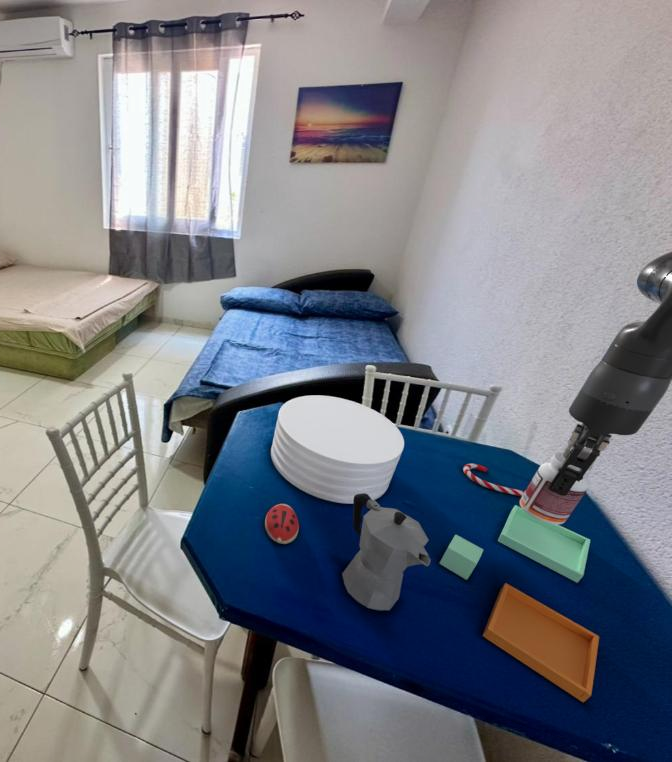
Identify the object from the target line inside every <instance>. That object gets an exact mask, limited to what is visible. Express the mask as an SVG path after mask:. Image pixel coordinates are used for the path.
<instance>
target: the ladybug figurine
mask: <svg viewBox="0 0 672 762" xmlns="http://www.w3.org/2000/svg"><path fill="white" fill-rule="evenodd" d="M264 528H265V531H266V533H267V535H268V536H269V538H270V539H271V540H273V541H274V542H276V543H277V544H283V545H287V544H290V543H292V542H293V541H294V540H295V539H296V538H297V536H298V534H299V529H300V524H299V519H298V516H297V514H296V512H295V511H294V509H293V508H292V507H291V506H290V505H288V504H286V503H279V504H276V505H274V506H273V507H271V509H269V510H268V512H267V514H266V516H265V519H264Z"/></svg>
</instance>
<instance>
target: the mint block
mask: <svg viewBox="0 0 672 762" xmlns="http://www.w3.org/2000/svg"><path fill="white" fill-rule="evenodd" d="M483 552H484V549H483V548H482V547H479V546H478V545H476V544H474V543H473V542H471V541H469V540H467V539H465V538H464V537H462V536H459V535H458V534H456V533H455V535H454V536H453V537H452V540H451V541H450V542H449V544H448V546H447V548H446V550H445V552H444V554H443V555H442V557H441V559H440V561H439V563H438V564H439V565H441V566H443V567H444V568H446V569H447V570H448V571H451V572H452V573H454V574H456V575H457V576H459V577H461V578H462V579H464V580H466V581H467V580H468V579H469V577H470V576H471V575H472V573H473V571H474V570H475V568H476V567H477V565H478V564H479V563H478V562H479V561H480V559H481V557H482V554H483Z"/></svg>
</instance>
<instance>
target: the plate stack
mask: <svg viewBox="0 0 672 762" xmlns="http://www.w3.org/2000/svg"><path fill="white" fill-rule="evenodd" d="M273 434H274V435H273V439H272V443H271V444H272V445H271V448H270V457H271V461H272V463H273V465H274V467H275V469H276V470H277V471H278V473H279V474H280V475H281V476H282V477H283V478H284V479H285V480H286V481H287V482H289V483H290V484H291V485H293V486H294V487H296V488H298V489H299V490H301V491H303V492H305V494H308V495H311V496H313V497H315V498H318V499H321V500H325V501H328V502H332V503H339V504H346V505H347V504H348V505H349V504H350V505H353V499H354V496H355V495H356V494H363V493H366V494H368V495H369V496H370V498H371V499H372V500H375V501H376V500H377V499H379V498H381V497H382V496H383V495H384V494H385V493H386V492H387V490H388V489H389V486H390V483H391V481H392V478H393V476H394V473H395V471H396V468H397V465H398V463H399V461H400V458H401V456H402V453H403V451H404V448H405V439H404V436H403V434H402V432H401V430H400V429H399V428H398V427H397V426H396V425H395V424H394V423H393V421H391V420H390V419H388V418H387V416H385V415H384V414H381V413H380V412H378V411H376V410H375V409H372V408H371V407H368V406H367V405H365V404H362V403H358V402H356V401H353V400H349V399H345V398H342V397H337V396H331V395H320V394H319V395H318V394H317V395H314V394H313V395H303V396H297V397H294V398H291V399H290V400H288V401H286V402H285V403H283V404H282V405H281V406H280V409H279V411H278V415H277V419H276V424H275V428H274V433H273Z"/></svg>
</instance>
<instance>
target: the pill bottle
mask: <svg viewBox="0 0 672 762" xmlns="http://www.w3.org/2000/svg"><path fill="white" fill-rule="evenodd" d="M563 453H564V452H556V453H554V454H553V456H552V457H551V458H550V462H545V463H542V464H540V465H539V467H538V469H537V470H536V472H535V474H534V475H533V477H532V478H531V481H530V482H529V484H528V486H527V487H526V489H525V490H524V491H525V492H524V494H523V496H520V499H519V507H521V508H522V509H523V510H524V511H525V512H526V513H528V514H529V515H530V516H532V517H534V518H536V519H537V520H540V521H542V522H545V523H548V524H554V525H562V524H564V523H566V522H567V520H568V519H569V518H570V516H571V514H572V513H573V512H574V510H575V508H576V507H577V506H578V504H579V502H580V501H581V500H582V498H583V497H584V496H585V494H586V492H587V491H588V490H589V488H590V485H591V483H590V480H589V478H588V477H589V476H590V475H591V474H592V472H593V466H591V467H589V469H588V470H587V472H586V473H585V474H584V476H583V479H582V480H580V481H579V482H578V481H576V482H575V483H574V485H573V486H572V488H571V489H570V491H569V492H568V494H567V495H566V496H561V495H559V494H557V493H554V492H552V491H550V490H549V489H548V487H549V485H550V484H551V482H552V480H553V479H554V477H555V476H556V474H557V473H558V468H559V466H560V467H561V465H562V463H563V462H564V460H565V458H564V457H563ZM568 467H569V468H572V469H574V470H577V471H579V469H580V468H578V467H575V466H573V465H568Z"/></svg>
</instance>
